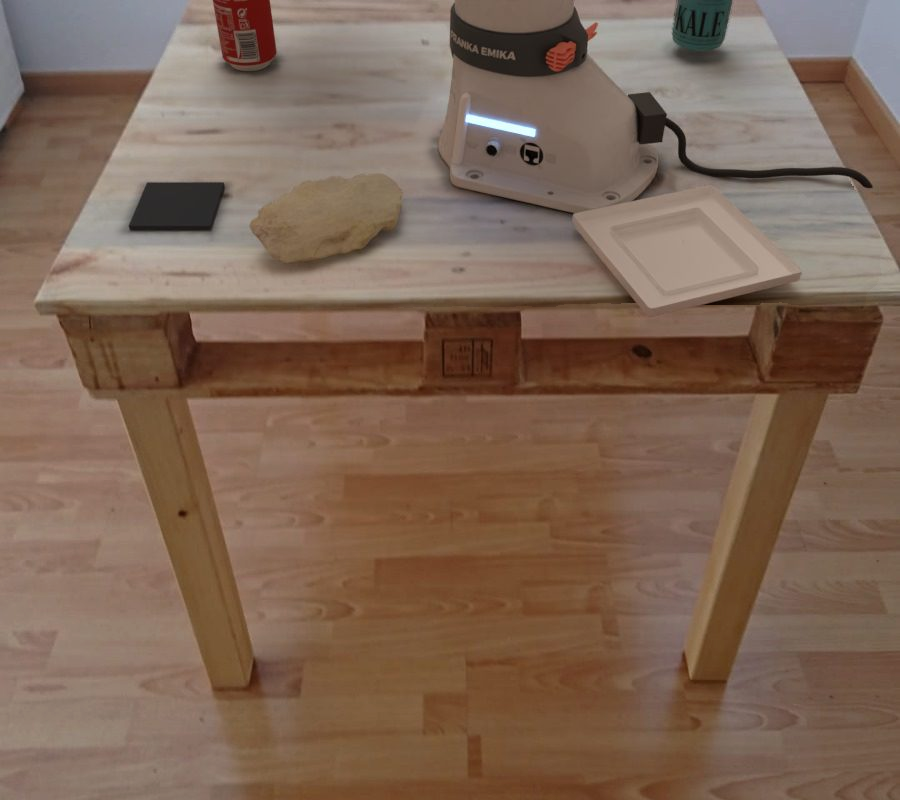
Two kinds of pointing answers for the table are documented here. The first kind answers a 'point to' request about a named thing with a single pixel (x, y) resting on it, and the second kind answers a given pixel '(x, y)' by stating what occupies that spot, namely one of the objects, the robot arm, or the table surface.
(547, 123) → the robot arm
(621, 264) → the square tray
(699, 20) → the beverage bottle
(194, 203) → the mat
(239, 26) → the beverage can
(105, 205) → the table surface
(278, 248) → the stone tool
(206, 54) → the table surface
